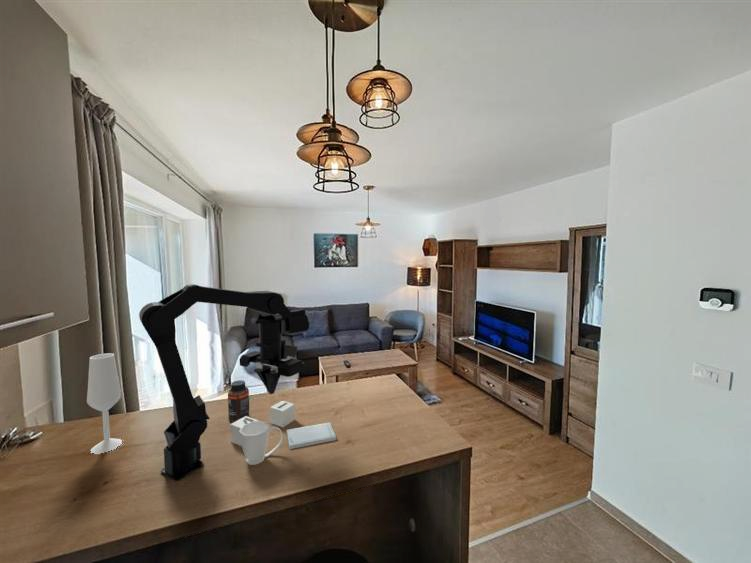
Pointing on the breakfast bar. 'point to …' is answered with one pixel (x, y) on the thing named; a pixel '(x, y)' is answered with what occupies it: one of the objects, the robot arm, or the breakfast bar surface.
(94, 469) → the breakfast bar surface
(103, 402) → the champagne flute
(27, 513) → the breakfast bar surface
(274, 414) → the block one
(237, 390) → the supplement bottle
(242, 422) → the block seven
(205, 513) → the breakfast bar surface
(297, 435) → the hard drive
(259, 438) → the cup
